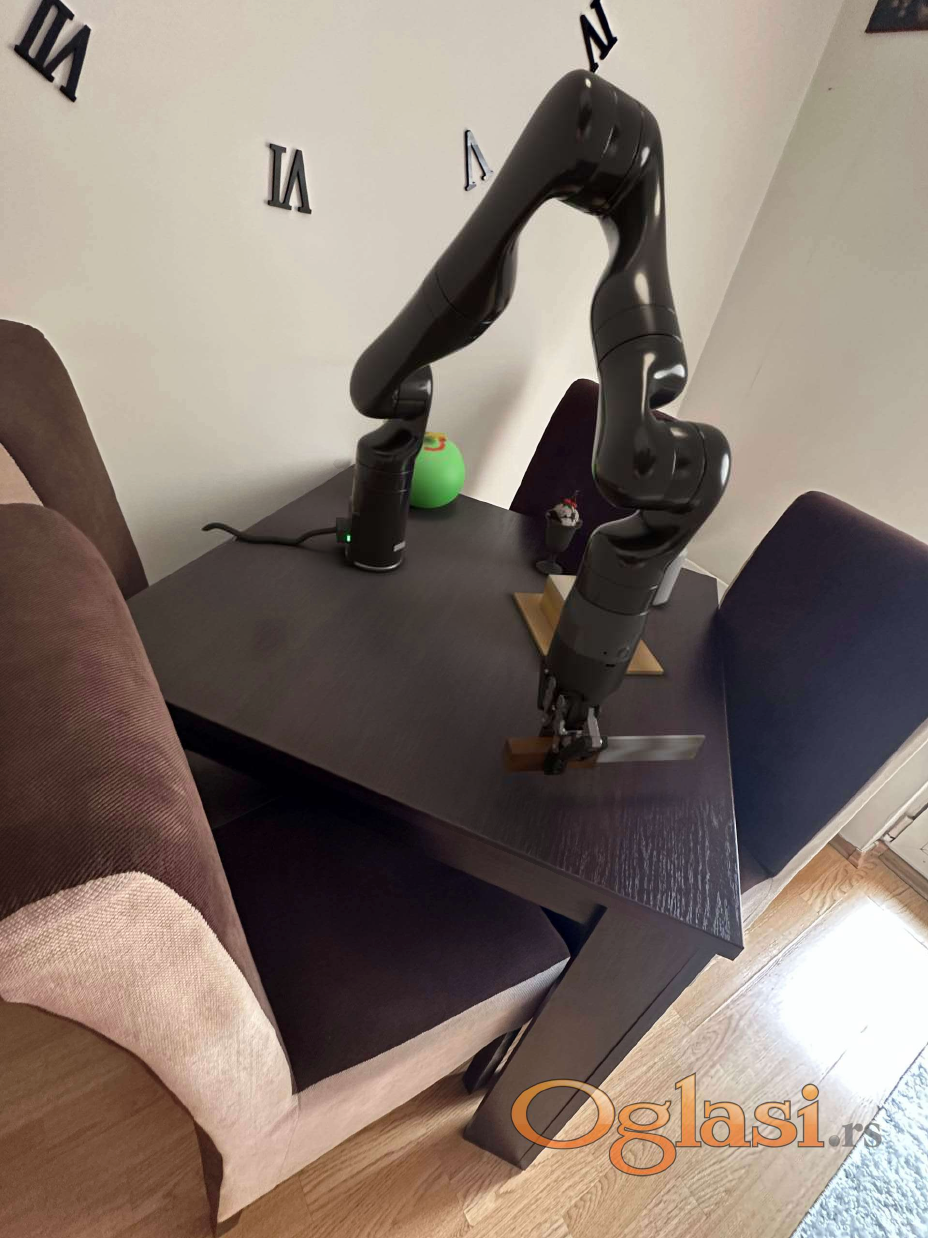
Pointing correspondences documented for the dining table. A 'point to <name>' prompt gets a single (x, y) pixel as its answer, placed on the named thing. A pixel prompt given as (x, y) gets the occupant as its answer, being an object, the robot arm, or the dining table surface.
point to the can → (670, 578)
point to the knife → (620, 749)
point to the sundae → (559, 533)
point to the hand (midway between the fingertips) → (547, 762)
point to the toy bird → (437, 472)
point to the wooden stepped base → (545, 614)
